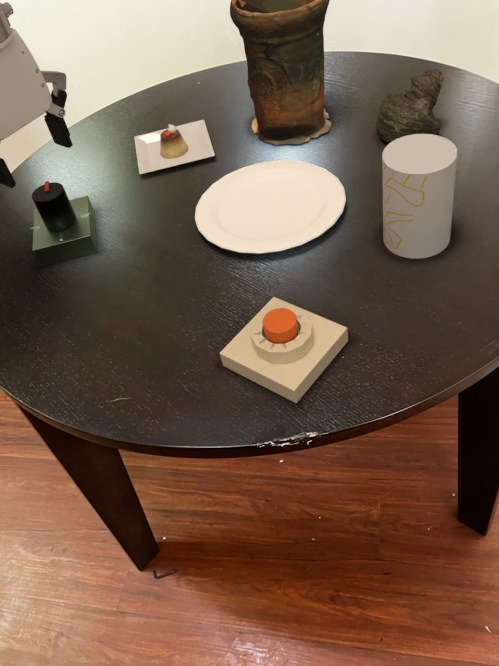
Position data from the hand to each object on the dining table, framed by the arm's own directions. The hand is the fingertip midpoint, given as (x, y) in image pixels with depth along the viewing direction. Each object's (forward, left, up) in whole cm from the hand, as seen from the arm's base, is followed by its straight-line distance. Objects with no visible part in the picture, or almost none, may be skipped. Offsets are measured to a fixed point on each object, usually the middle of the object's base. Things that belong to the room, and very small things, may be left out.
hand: (36, 164), depth 84 cm
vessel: (+39, -12, -12) cm, 42 cm away
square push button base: (-2, -40, -12) cm, 42 cm away
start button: (-2, -40, -9) cm, 41 cm away
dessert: (+24, +1, -12) cm, 27 cm away
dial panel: (0, 0, -12) cm, 12 cm away
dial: (0, 0, -9) cm, 9 cm away
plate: (+18, -23, -12) cm, 32 cm away
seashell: (+42, -29, -12) cm, 52 cm away
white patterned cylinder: (+22, -43, -12) cm, 50 cm away
